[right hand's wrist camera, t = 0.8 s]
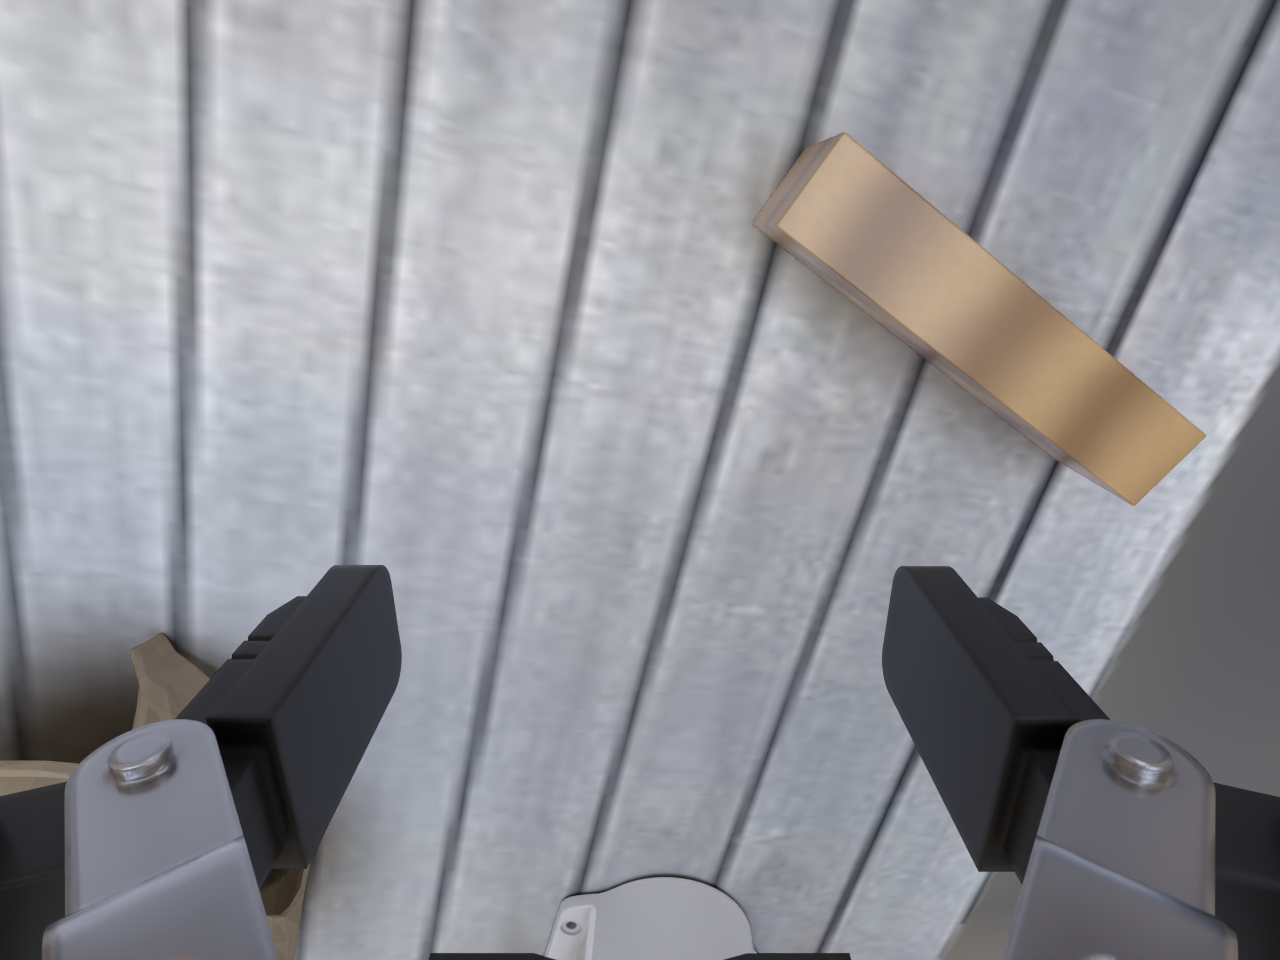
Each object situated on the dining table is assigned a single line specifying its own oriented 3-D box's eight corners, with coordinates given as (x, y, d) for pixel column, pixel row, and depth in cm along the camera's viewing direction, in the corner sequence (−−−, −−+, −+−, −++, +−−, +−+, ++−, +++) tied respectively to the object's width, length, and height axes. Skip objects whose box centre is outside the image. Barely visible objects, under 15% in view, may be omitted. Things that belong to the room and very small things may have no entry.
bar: (751, 223, 39) (775, 225, 32) (805, 147, 38) (844, 131, 31) (1052, 458, 44) (1134, 506, 37) (1110, 397, 43) (1207, 435, 35)
